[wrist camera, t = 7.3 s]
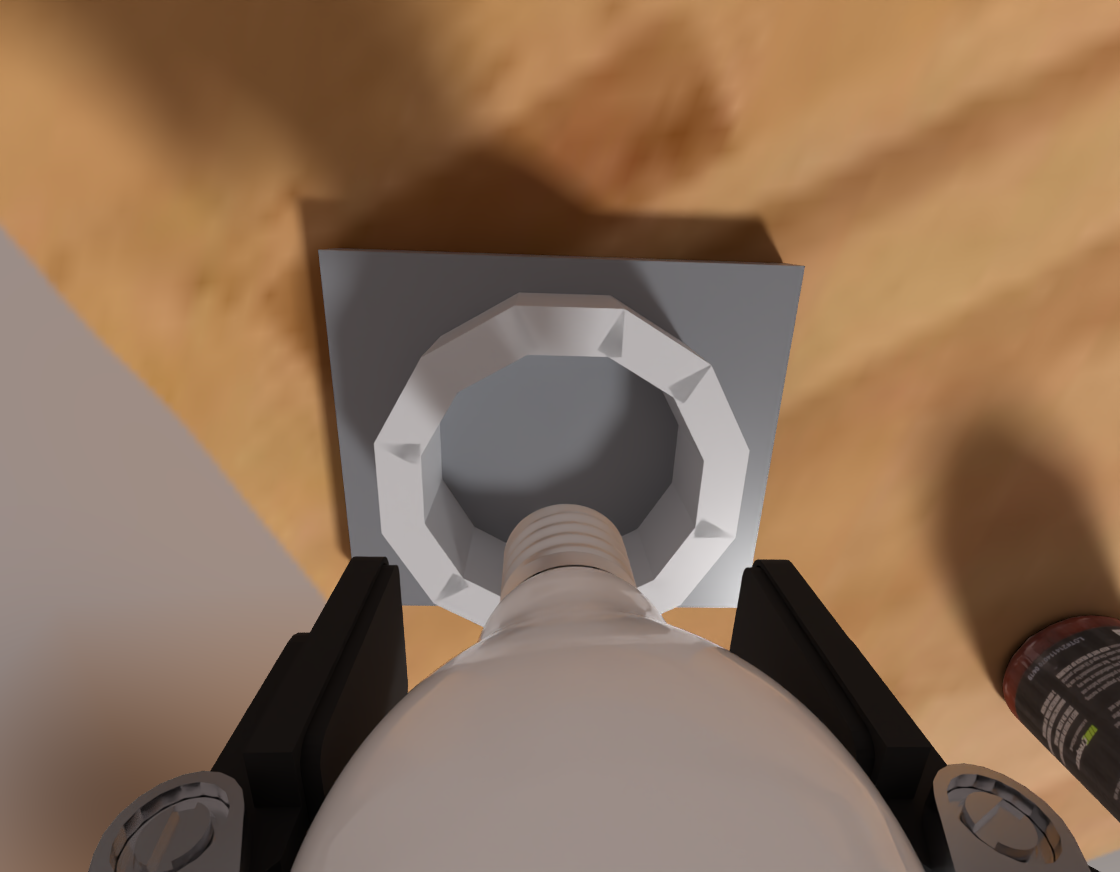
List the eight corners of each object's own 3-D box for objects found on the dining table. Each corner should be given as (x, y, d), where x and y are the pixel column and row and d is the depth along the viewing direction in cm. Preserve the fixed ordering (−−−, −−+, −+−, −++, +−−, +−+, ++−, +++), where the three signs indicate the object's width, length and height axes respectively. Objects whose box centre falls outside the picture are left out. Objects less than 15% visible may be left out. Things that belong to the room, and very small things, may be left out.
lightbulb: (432, 395, 12) (-329, 1652, 1) (727, 428, 12) (1771, 1500, 2) (418, 642, 14) (81, 1856, 4) (670, 661, 14) (1016, 1758, 4)
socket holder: (783, 263, 18) (859, 274, 14) (731, 583, 22) (776, 667, 18) (336, 248, 17) (270, 254, 13) (368, 580, 21) (326, 666, 17)
